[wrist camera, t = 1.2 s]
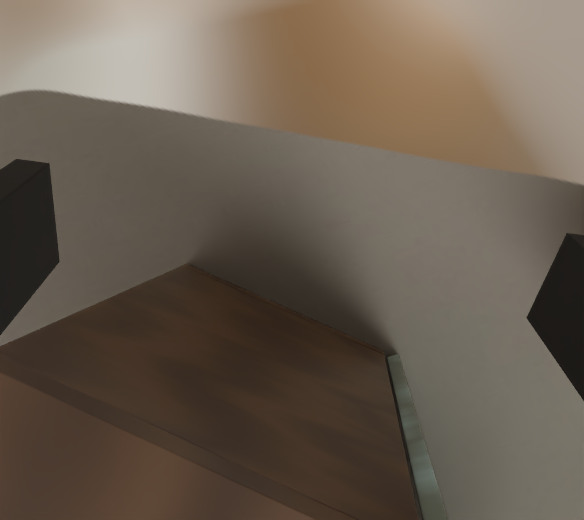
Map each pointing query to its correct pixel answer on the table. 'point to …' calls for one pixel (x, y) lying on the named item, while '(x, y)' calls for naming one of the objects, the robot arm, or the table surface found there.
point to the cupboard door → (416, 446)
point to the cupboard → (198, 413)
